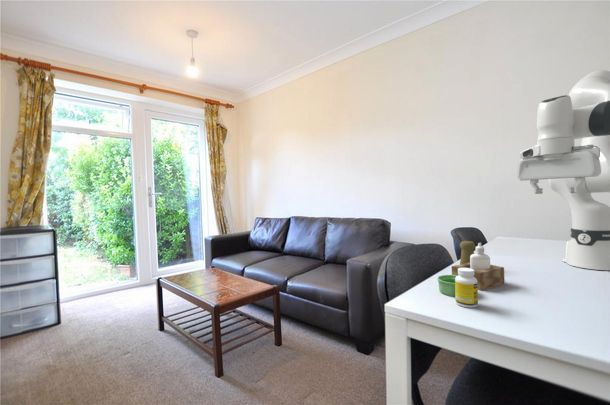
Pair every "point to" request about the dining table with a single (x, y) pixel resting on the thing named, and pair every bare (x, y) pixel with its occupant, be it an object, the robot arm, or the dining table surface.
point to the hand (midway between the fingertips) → (555, 193)
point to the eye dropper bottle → (479, 259)
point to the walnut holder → (484, 275)
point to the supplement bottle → (466, 288)
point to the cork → (466, 251)
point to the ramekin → (447, 284)
